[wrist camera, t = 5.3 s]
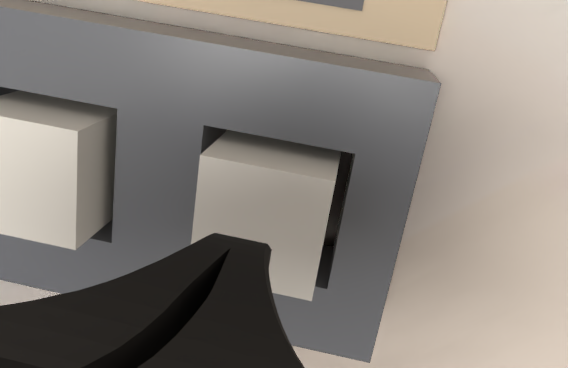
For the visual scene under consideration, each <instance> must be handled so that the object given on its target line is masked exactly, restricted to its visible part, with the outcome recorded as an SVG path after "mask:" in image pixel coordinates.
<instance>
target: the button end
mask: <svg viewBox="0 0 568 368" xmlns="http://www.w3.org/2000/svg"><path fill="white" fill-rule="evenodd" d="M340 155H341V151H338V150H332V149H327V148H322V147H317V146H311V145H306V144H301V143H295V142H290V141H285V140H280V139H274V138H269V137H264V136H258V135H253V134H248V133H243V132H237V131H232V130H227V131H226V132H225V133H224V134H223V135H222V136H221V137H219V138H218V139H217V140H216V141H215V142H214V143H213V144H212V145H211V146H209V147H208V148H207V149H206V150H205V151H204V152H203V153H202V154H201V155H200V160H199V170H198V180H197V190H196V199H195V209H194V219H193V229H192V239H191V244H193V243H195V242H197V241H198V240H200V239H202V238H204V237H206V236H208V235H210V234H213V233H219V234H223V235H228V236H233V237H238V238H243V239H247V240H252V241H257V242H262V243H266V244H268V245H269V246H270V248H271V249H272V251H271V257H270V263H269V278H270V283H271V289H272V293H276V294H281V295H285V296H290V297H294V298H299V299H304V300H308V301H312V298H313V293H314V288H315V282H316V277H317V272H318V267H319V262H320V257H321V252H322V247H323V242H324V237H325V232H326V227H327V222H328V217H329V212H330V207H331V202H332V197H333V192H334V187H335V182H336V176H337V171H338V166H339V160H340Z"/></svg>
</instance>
